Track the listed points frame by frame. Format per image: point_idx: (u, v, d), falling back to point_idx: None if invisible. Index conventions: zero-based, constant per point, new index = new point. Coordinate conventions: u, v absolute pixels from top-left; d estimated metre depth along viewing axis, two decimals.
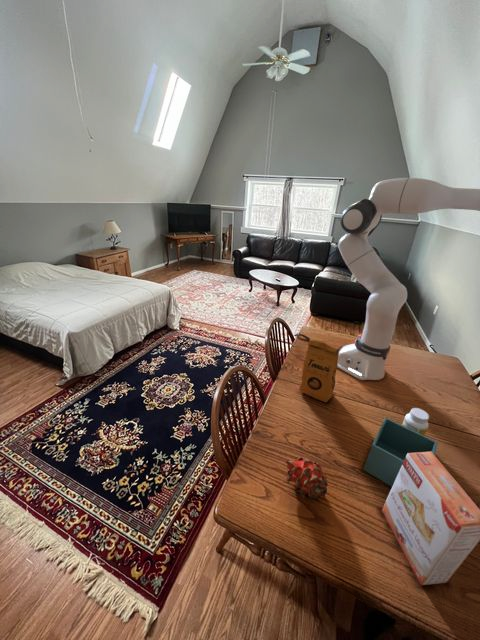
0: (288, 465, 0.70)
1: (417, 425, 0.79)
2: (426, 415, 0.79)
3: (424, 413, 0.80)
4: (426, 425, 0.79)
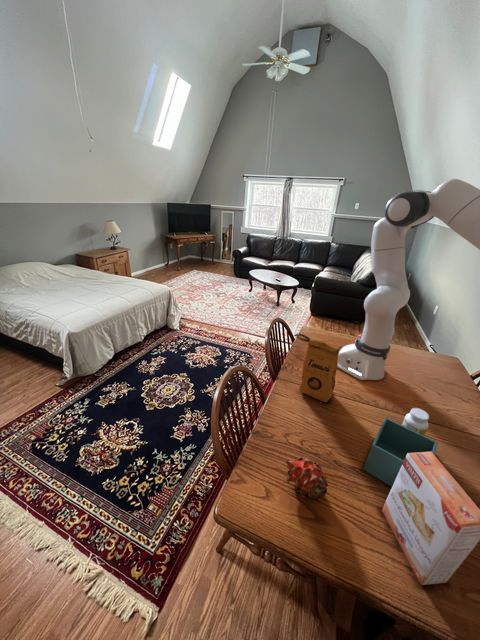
0: (288, 465, 0.70)
1: (417, 425, 0.79)
2: (426, 415, 0.79)
3: (424, 413, 0.80)
4: (426, 425, 0.79)
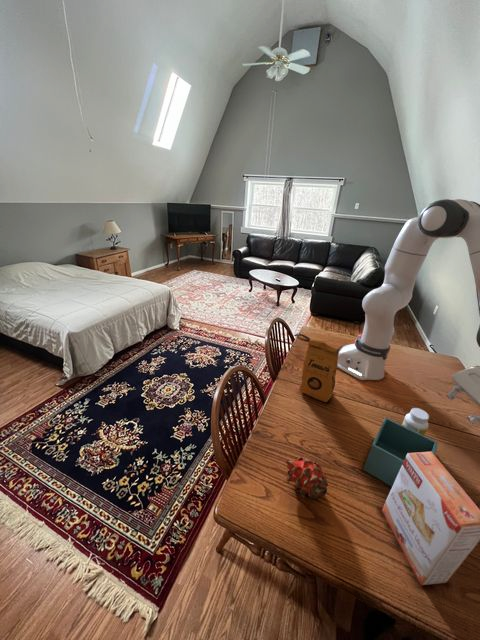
0: (288, 465, 0.70)
1: (417, 425, 0.79)
2: (426, 415, 0.79)
3: (424, 413, 0.80)
4: (426, 425, 0.79)
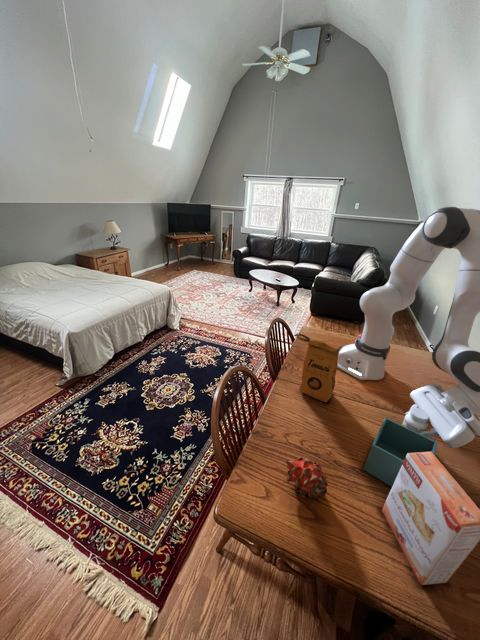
0: (288, 465, 0.70)
1: (417, 425, 0.79)
2: (426, 415, 0.80)
3: (424, 413, 0.80)
4: (426, 425, 0.79)
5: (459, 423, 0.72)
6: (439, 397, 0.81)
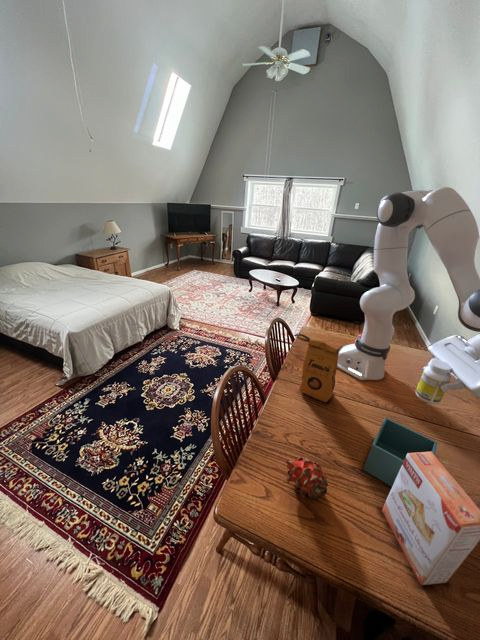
0: (288, 465, 0.70)
1: (438, 377, 0.70)
2: (448, 366, 0.70)
3: (446, 364, 0.71)
4: (448, 377, 0.70)
5: None
6: (463, 347, 0.72)
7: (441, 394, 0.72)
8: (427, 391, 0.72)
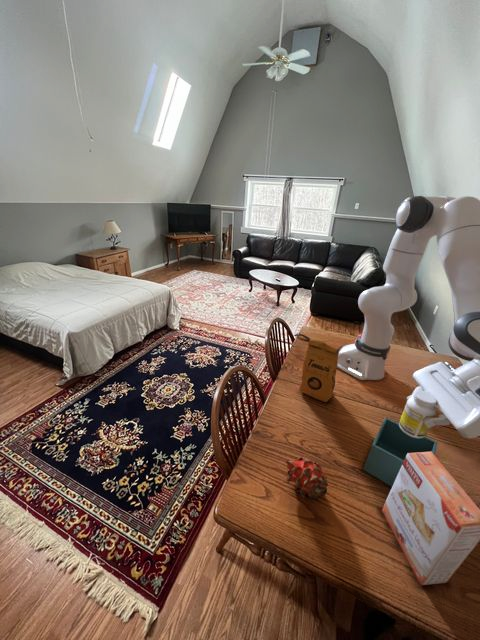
0: (288, 465, 0.70)
1: (422, 410, 0.64)
2: (433, 398, 0.64)
3: (431, 396, 0.65)
4: (433, 410, 0.64)
5: (476, 406, 0.56)
6: (449, 376, 0.65)
7: (426, 428, 0.65)
8: (411, 424, 0.66)
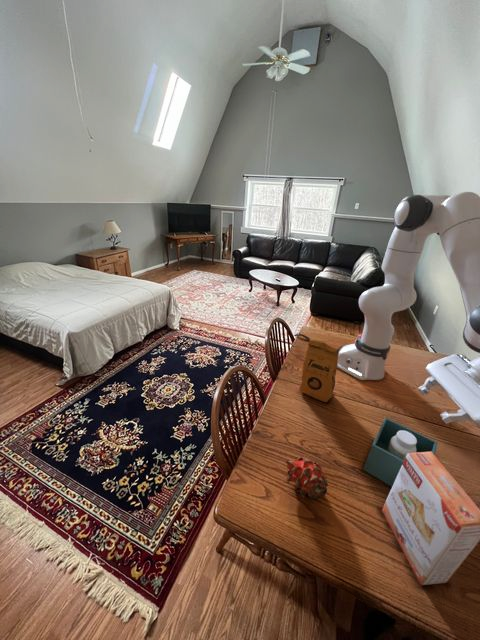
0: (288, 465, 0.70)
1: (403, 451, 0.70)
2: (414, 439, 0.70)
3: (411, 437, 0.71)
4: (414, 451, 0.70)
5: None
6: (465, 368, 0.64)
7: None
8: None
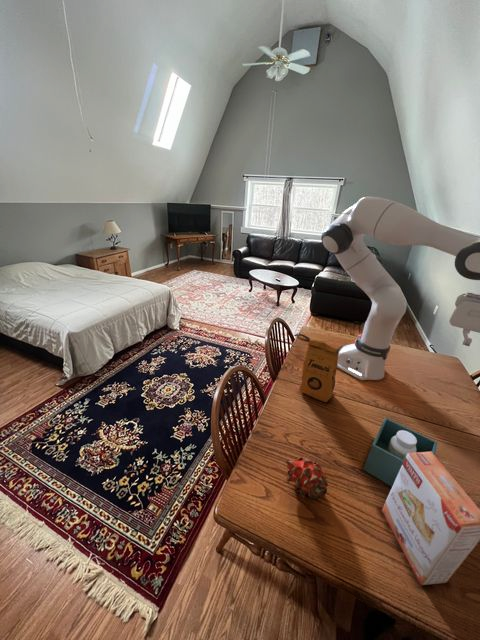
0: (288, 465, 0.70)
1: (403, 451, 0.70)
2: (414, 439, 0.70)
3: (411, 437, 0.71)
4: (414, 451, 0.70)
5: None
6: None
7: None
8: None
